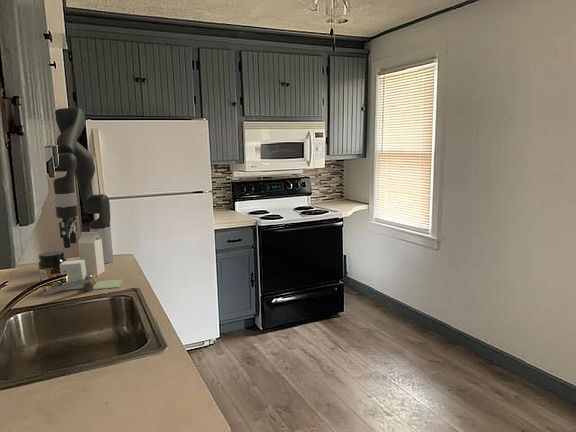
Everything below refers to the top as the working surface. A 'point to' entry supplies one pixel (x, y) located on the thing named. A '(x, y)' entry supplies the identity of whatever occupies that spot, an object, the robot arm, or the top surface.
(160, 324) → the top surface
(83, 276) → the small box
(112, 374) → the top surface
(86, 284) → the cradle
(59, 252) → the supplement container
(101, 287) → the pad
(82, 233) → the milk carton
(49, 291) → the lever
